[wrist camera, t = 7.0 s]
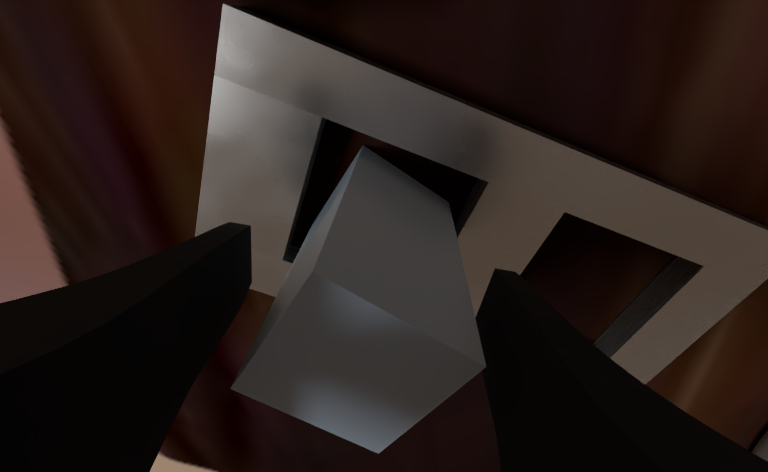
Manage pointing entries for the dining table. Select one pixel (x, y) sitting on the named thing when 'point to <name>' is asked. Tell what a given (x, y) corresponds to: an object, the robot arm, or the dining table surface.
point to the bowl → (762, 447)
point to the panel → (469, 155)
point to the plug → (369, 313)
